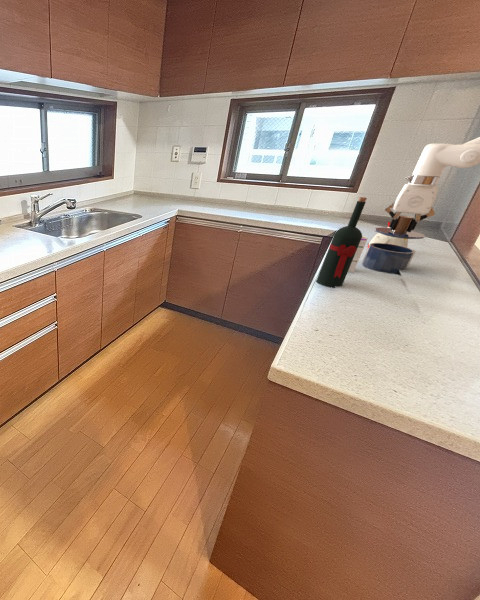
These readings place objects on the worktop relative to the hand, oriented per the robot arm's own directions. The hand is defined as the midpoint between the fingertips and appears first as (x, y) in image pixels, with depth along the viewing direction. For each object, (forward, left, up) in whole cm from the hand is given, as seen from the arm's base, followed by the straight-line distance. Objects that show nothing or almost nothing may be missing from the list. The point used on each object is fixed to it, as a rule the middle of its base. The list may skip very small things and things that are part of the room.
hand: (400, 230), depth 126 cm
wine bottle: (+18, +36, -16) cm, 43 cm away
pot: (0, 0, -16) cm, 16 cm away
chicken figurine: (-4, -33, -16) cm, 37 cm away
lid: (0, 0, -1) cm, 1 cm away
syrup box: (+14, +15, -16) cm, 26 cm away
